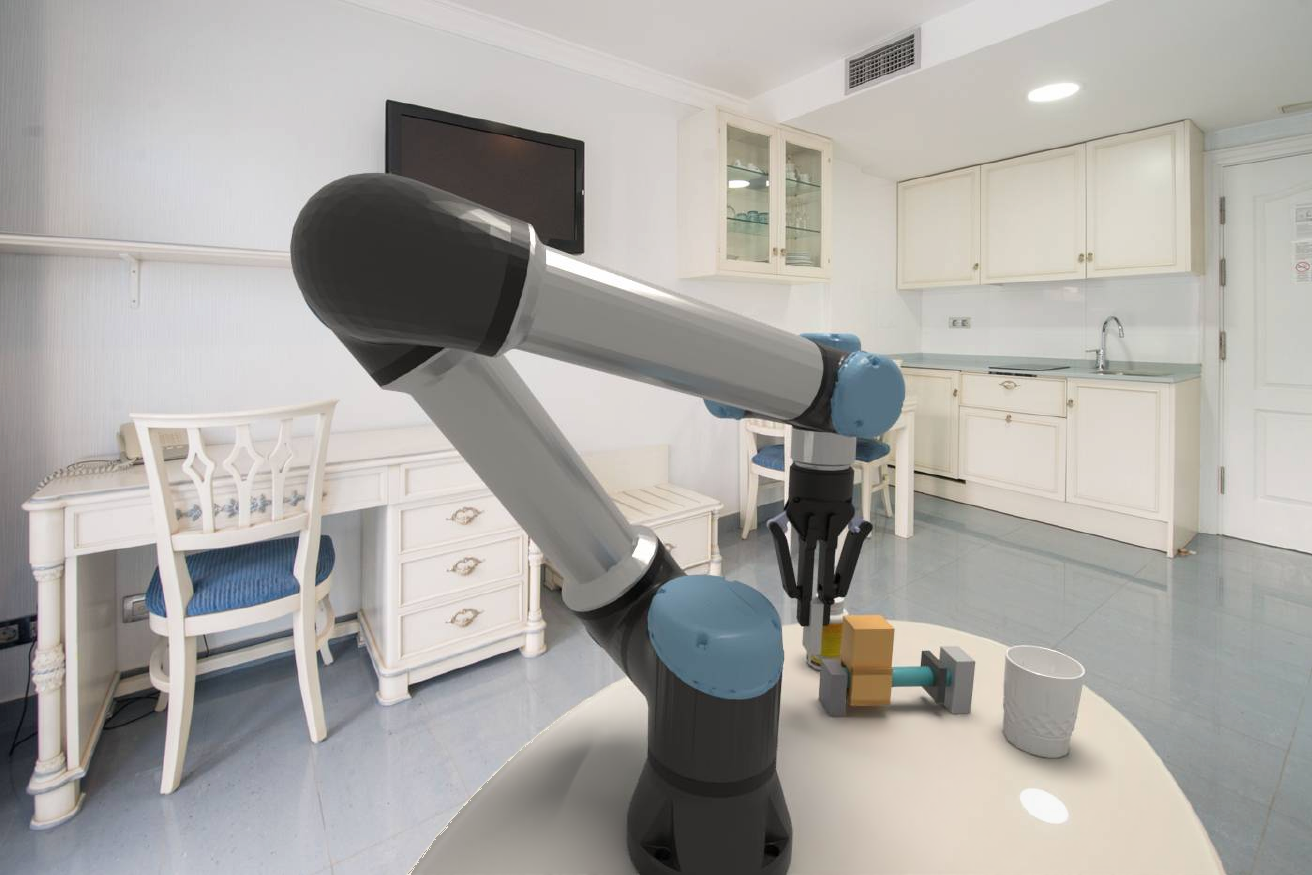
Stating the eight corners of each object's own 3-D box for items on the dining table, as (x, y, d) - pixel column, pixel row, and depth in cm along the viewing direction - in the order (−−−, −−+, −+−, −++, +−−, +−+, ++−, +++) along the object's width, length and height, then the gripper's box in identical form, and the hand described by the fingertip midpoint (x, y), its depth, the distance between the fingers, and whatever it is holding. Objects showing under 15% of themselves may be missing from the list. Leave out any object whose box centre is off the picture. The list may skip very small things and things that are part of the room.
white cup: (1087, 766, 71) (1098, 682, 69) (1009, 756, 72) (1019, 673, 71) (1058, 725, 78) (1067, 649, 77) (988, 717, 80) (996, 641, 78)
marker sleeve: (850, 705, 79) (856, 630, 77) (837, 685, 84) (841, 614, 82) (890, 705, 79) (896, 630, 78) (874, 684, 84) (879, 613, 82)
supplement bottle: (853, 672, 90) (857, 603, 89) (816, 675, 89) (820, 605, 88) (834, 653, 96) (838, 588, 94) (799, 656, 94) (803, 590, 93)
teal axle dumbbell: (829, 717, 79) (833, 664, 78) (817, 697, 83) (821, 646, 82) (971, 714, 80) (976, 662, 79) (952, 694, 85) (956, 645, 84)
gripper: (862, 458, 81) (850, 634, 84) (760, 457, 80) (753, 636, 83) (888, 470, 73) (874, 663, 77) (776, 469, 72) (767, 665, 76)
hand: (811, 649), depth 80 cm, fingers closed
